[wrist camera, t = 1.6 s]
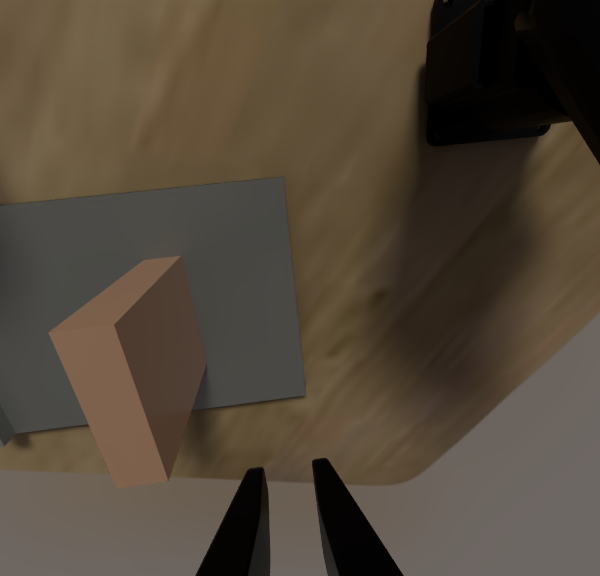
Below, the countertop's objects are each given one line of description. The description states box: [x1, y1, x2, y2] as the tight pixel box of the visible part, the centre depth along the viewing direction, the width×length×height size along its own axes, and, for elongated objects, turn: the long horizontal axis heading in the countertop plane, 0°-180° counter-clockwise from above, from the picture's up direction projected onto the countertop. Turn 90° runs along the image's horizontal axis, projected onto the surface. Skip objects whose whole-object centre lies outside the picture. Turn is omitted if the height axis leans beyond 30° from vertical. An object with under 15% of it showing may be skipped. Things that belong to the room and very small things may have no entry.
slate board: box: [0, 177, 306, 447], centre depth 18 cm, size 20×14×2 cm
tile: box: [48, 256, 207, 489], centre depth 15 cm, size 2×7×8 cm, turn 6°
